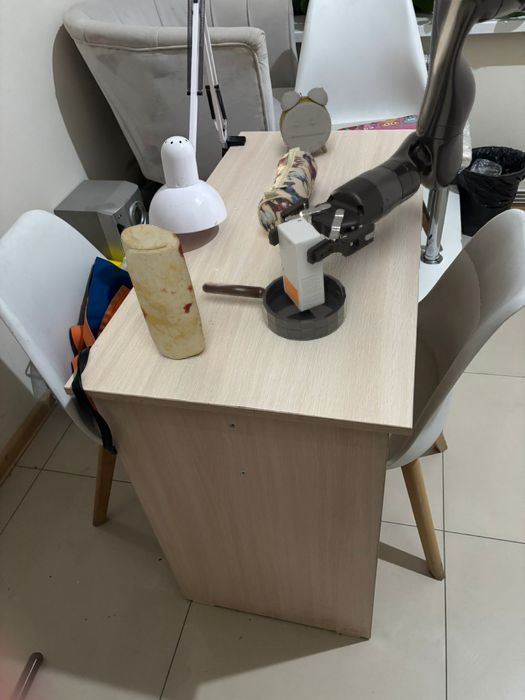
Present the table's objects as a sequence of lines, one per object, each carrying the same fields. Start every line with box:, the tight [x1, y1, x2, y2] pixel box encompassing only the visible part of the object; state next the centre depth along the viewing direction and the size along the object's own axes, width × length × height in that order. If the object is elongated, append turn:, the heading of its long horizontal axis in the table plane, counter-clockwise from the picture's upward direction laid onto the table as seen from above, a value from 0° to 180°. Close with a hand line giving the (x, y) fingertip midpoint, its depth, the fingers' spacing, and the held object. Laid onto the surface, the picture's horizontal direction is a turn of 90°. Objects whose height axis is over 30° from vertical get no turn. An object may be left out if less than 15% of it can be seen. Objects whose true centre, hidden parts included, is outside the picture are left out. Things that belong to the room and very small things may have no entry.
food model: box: [120, 223, 206, 360], centre depth 71 cm, size 10×7×20 cm
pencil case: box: [256, 147, 318, 236], centre depth 101 cm, size 22×8×10 cm, turn 167°
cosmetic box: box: [277, 217, 325, 311], centre depth 75 cm, size 6×4×12 cm
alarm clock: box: [279, 86, 332, 156], centre depth 118 cm, size 12×7×15 cm, turn 94°
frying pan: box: [261, 272, 348, 342], centre depth 79 cm, size 13×13×4 cm
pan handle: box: [201, 281, 265, 300], centre depth 82 cm, size 11×2×2 cm, turn 73°
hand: (289, 248), depth 71 cm, fingers closed on cosmetic box, 7 cm apart
